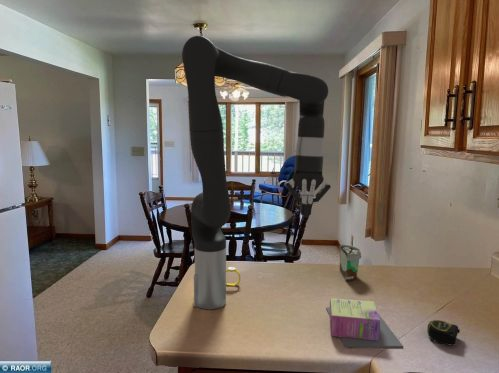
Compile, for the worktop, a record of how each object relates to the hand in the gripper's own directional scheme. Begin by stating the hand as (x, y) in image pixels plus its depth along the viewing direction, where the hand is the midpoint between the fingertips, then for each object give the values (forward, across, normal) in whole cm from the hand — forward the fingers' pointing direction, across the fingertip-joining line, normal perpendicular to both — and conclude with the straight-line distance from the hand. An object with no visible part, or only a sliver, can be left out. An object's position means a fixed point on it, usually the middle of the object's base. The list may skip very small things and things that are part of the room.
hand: (305, 216), depth 104 cm
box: (+25, +6, -9) cm, 27 cm away
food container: (+27, +22, +27) cm, 44 cm away
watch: (+28, -20, +18) cm, 39 cm away
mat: (+28, +15, -8) cm, 32 cm away
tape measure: (+27, +35, -14) cm, 46 cm away
